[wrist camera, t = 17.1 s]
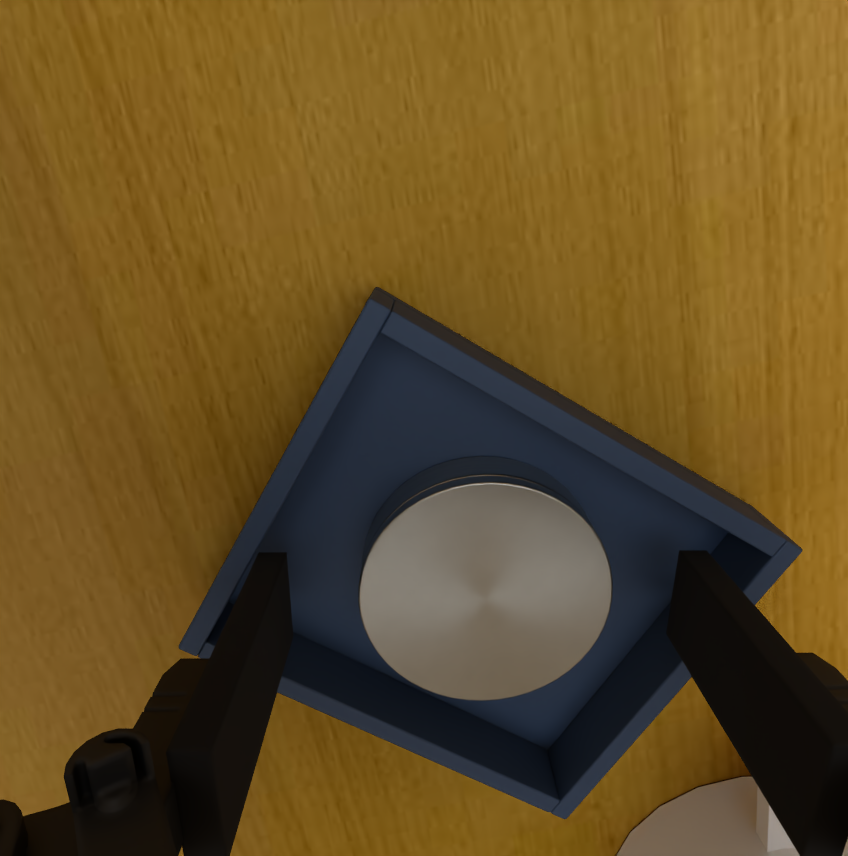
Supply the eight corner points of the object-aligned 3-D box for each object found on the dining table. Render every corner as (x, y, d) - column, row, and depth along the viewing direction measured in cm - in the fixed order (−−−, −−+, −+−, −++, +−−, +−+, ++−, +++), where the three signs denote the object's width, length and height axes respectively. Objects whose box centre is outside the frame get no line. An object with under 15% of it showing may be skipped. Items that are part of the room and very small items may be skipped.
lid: (494, 694, 20) (501, 740, 18) (317, 585, 19) (306, 623, 17) (642, 541, 18) (666, 576, 17) (459, 408, 17) (464, 430, 15)
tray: (206, 594, 20) (177, 648, 17) (376, 285, 17) (369, 297, 14) (549, 753, 22) (565, 821, 19) (754, 506, 19) (804, 550, 16)
